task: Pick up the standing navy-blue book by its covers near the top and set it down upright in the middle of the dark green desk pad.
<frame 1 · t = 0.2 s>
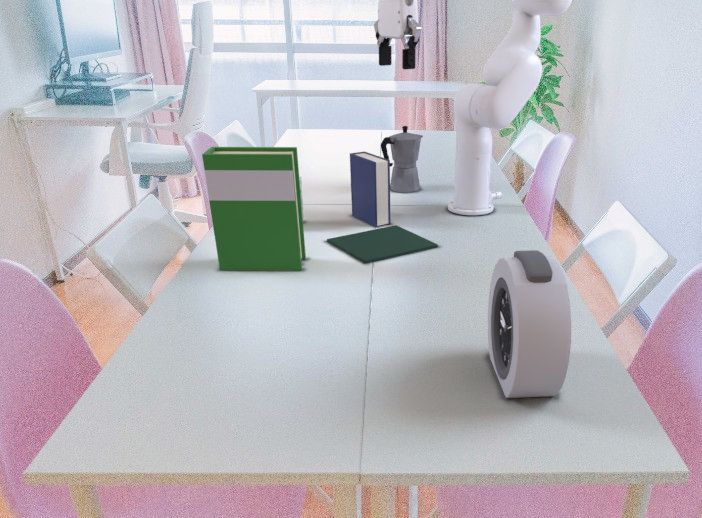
hand: (396, 67, 152), 37 cm above the table, tool pointing down, fingers open, 9 cm apart
alarm clock: (520, 376, 105), on the table
navy book: (370, 219, 175), on the table
hardback book: (263, 265, 147), on the table
desk pad: (381, 244, 158), on the table
coffeepot: (402, 190, 201), on the table
ink box: (290, 226, 170), on the table
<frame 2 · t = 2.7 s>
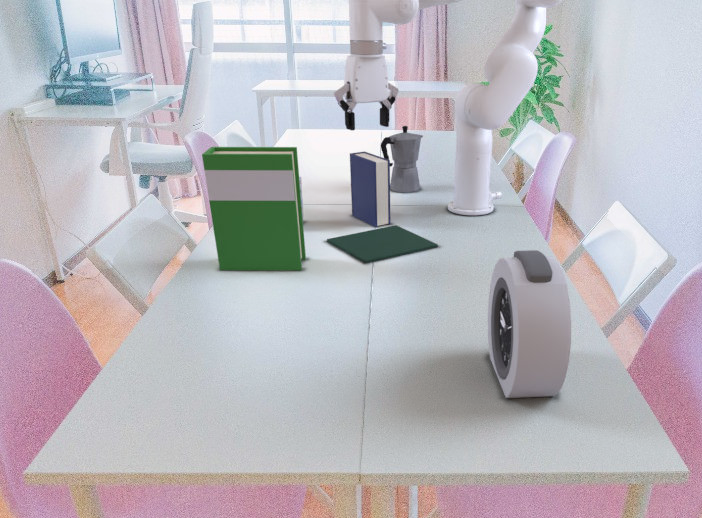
hand: (367, 127, 162), 23 cm above the table, tool pointing down, fingers open, 9 cm apart
nothing on the table moved.
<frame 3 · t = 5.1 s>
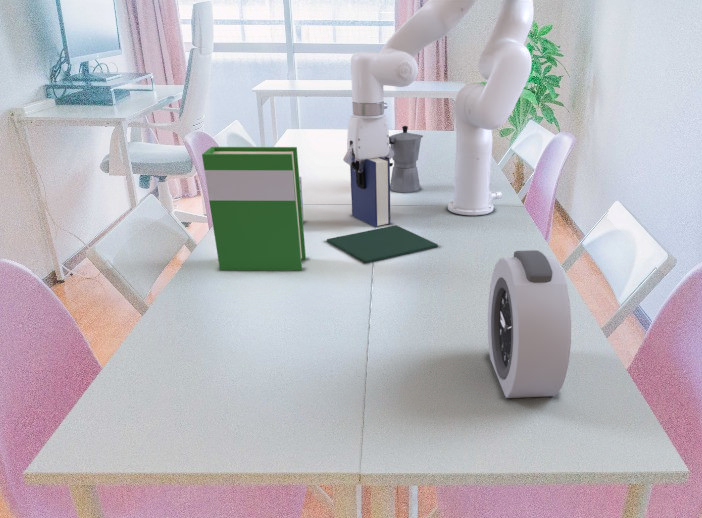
hand: (370, 185, 170), 9 cm above the table, tool pointing down, fingers closed on navy book, 4 cm apart
navy book: (370, 219, 175), on the table, touching gripper
everything else where it was.
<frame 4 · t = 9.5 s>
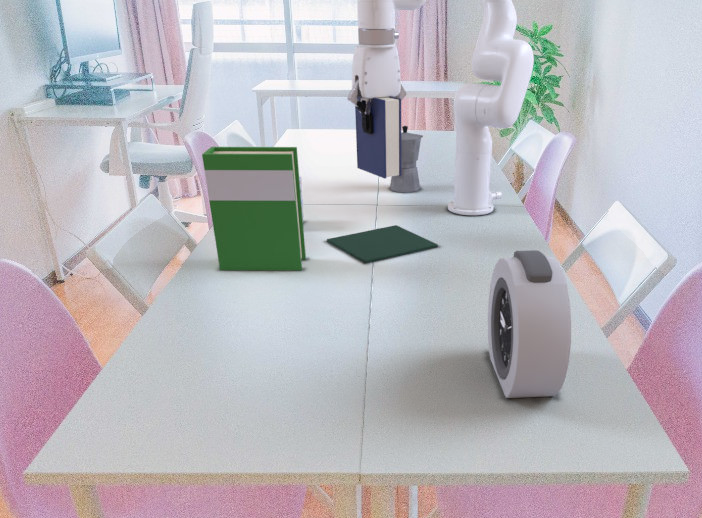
hand: (378, 130, 147), 25 cm above the table, tool pointing down, fingers closed on navy book, 4 cm apart
navy book: (378, 171, 152), point 16 cm above the table, touching gripper
everything else where it was.
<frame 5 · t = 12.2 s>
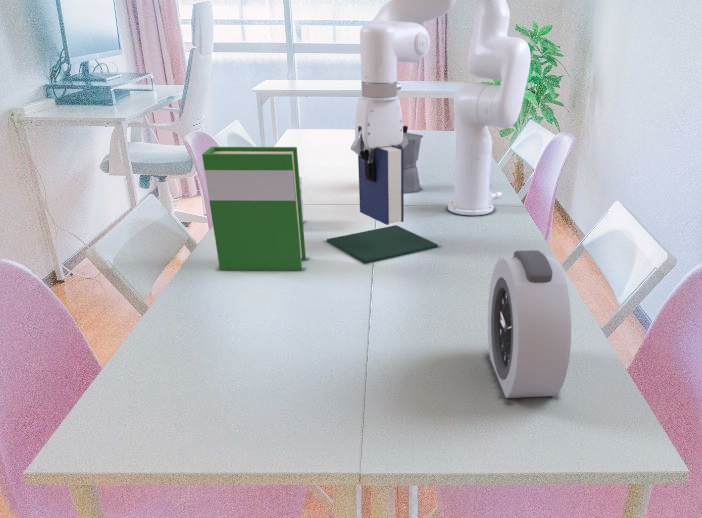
hand: (380, 178, 150), 15 cm above the table, tool pointing down, fingers closed on navy book, 4 cm apart
navy book: (381, 216, 155), point 7 cm above the table, touching gripper
everything else where it was.
when the fingers open (9 cm above the table, at t = 14.2 s): navy book stays where it is, resting on desk pad.
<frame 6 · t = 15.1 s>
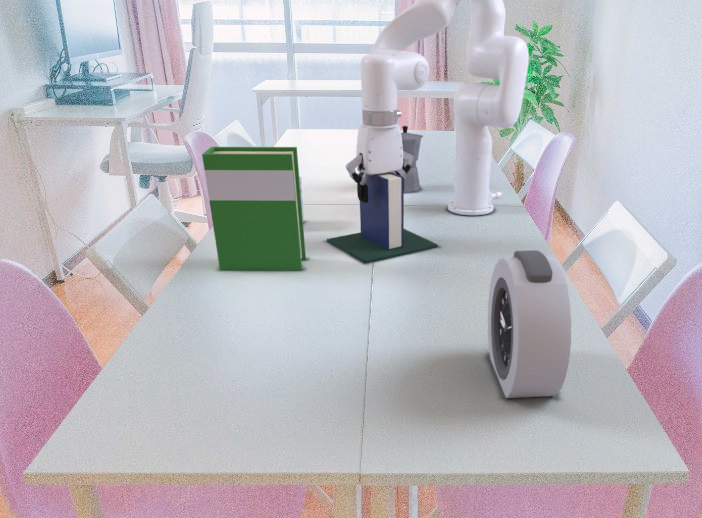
hand: (381, 198, 153), 11 cm above the table, tool pointing down, fingers open, 9 cm apart
navy book: (381, 241, 158), point 1 cm above the table, touching desk pad
everything else where it was.
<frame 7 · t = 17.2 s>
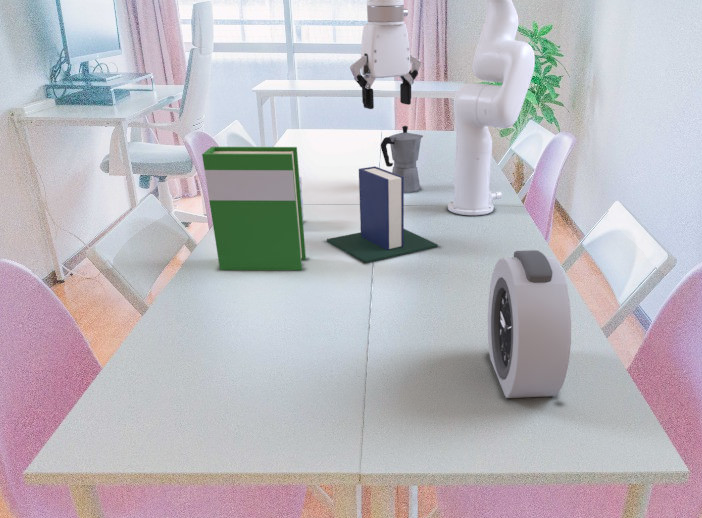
hand: (387, 106, 145), 30 cm above the table, tool pointing down, fingers open, 9 cm apart
nothing on the table moved.
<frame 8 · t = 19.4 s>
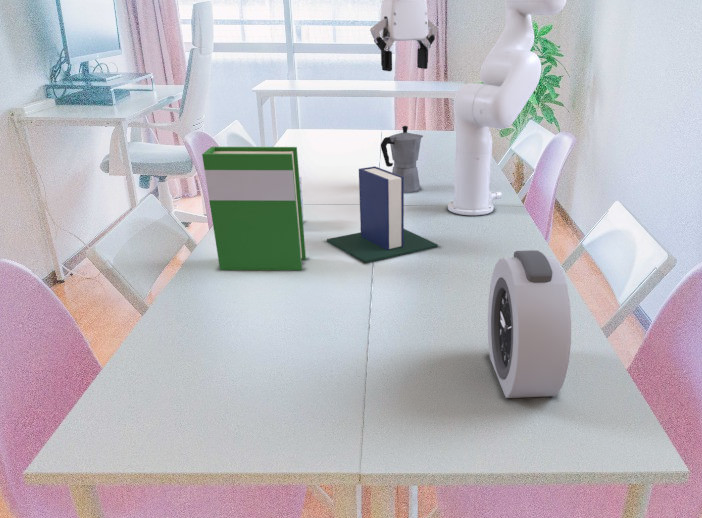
hand: (404, 69, 150), 36 cm above the table, tool pointing down, fingers open, 9 cm apart
nothing on the table moved.
at the end: navy book 0.0 cm off-centre on the desk pad, point 0.6 cm above the desk pad's base; navy book tilted 0°; the gripper is holding nothing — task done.
